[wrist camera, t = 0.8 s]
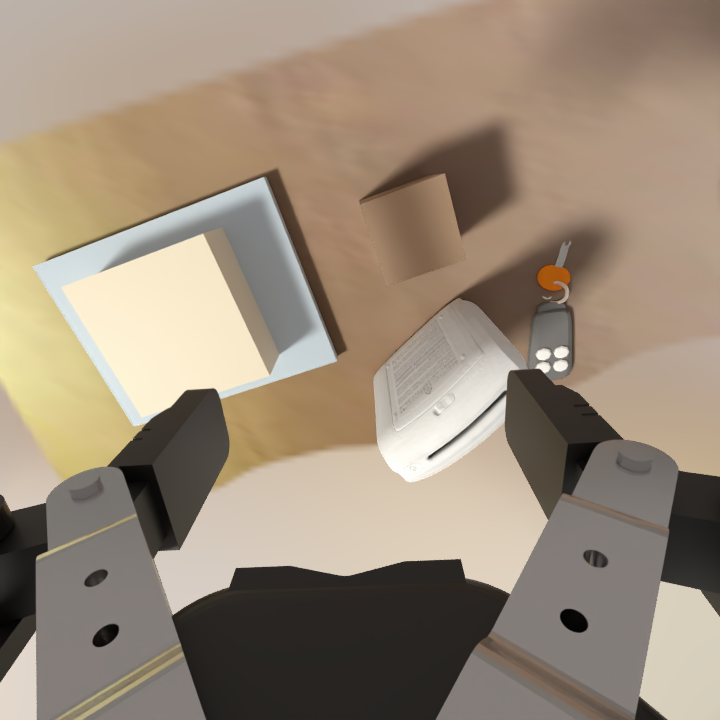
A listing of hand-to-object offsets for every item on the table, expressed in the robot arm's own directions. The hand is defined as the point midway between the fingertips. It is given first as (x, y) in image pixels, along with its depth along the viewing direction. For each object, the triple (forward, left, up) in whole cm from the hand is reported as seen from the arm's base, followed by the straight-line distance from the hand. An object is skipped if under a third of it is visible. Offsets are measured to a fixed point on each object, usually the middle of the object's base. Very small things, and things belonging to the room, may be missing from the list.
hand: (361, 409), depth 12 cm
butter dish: (+13, -1, -21) cm, 25 cm away
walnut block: (-4, -2, -22) cm, 22 cm away
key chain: (-13, +7, -22) cm, 27 cm away
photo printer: (-3, +8, -22) cm, 23 cm away
